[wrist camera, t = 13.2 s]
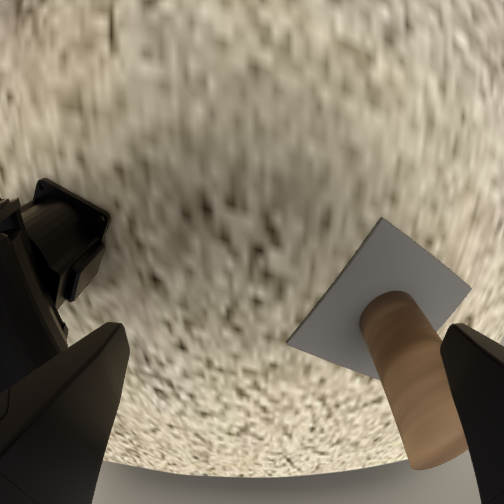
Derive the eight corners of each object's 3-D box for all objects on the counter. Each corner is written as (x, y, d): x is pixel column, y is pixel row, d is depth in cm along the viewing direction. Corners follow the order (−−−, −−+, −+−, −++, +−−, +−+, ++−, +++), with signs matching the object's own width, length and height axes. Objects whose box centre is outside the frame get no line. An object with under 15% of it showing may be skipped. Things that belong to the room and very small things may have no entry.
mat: (286, 341, 24) (286, 344, 24) (381, 216, 20) (383, 218, 19) (386, 380, 27) (387, 382, 26) (470, 286, 22) (471, 288, 22)
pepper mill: (346, 328, 23) (393, 469, 12) (387, 280, 21) (468, 414, 10) (387, 348, 24) (438, 470, 13) (426, 305, 22) (500, 422, 11)
